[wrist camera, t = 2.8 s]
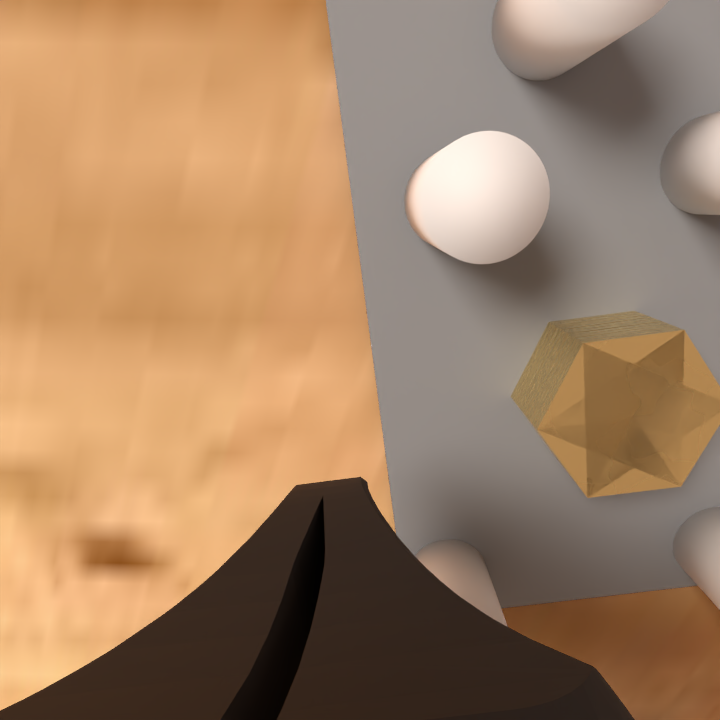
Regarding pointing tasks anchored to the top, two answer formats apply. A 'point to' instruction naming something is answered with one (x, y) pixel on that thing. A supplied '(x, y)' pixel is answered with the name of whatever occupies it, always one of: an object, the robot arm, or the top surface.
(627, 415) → the tan faceted polyhedron
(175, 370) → the top surface
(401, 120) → the board
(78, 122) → the top surface
